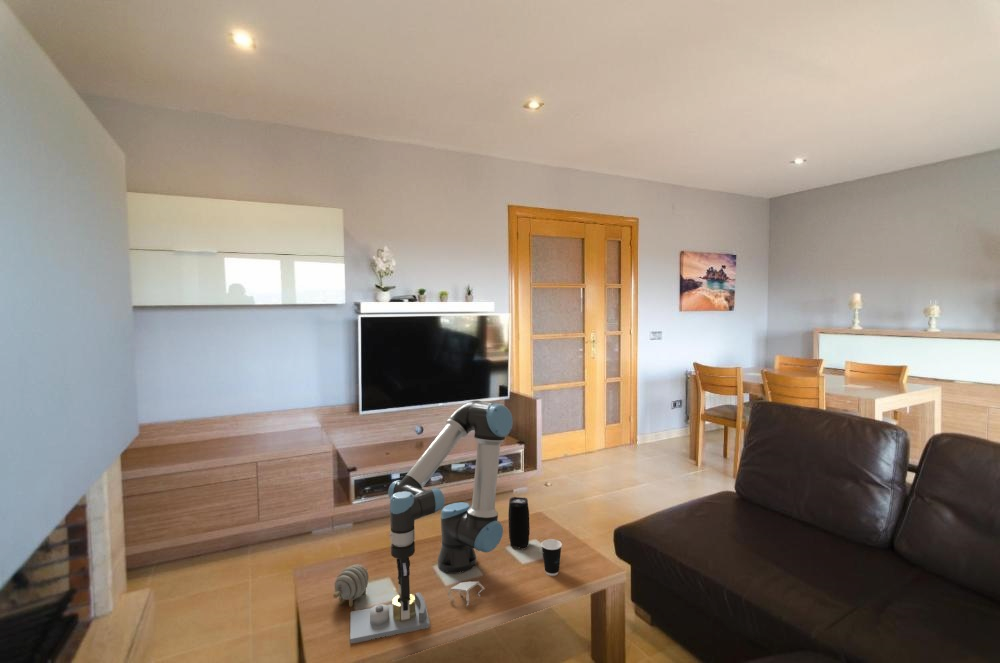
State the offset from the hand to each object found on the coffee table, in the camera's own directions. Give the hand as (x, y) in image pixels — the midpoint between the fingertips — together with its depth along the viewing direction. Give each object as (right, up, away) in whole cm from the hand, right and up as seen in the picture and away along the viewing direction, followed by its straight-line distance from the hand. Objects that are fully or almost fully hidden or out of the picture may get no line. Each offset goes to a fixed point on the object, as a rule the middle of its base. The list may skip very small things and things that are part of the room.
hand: (404, 611), depth 158 cm
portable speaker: (+39, 0, +48) cm, 62 cm away
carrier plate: (-4, -3, -1) cm, 5 cm away
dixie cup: (+51, -1, +26) cm, 57 cm away
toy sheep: (-21, -3, +12) cm, 24 cm away
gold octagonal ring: (0, -1, 0) cm, 1 cm away
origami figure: (+20, -2, +11) cm, 23 cm away
